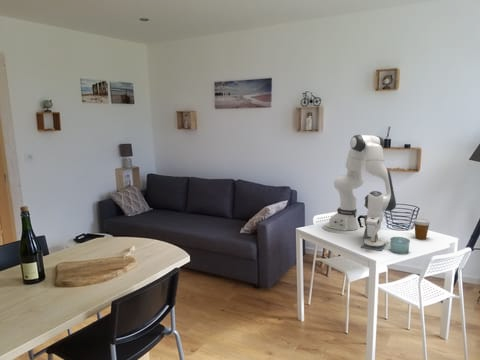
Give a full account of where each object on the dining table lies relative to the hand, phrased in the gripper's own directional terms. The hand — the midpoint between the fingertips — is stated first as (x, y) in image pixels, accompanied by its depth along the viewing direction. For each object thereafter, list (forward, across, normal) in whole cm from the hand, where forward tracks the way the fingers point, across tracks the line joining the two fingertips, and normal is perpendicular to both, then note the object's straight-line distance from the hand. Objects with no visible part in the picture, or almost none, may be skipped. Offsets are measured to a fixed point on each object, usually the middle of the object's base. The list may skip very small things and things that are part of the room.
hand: (373, 239), depth 219 cm
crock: (+4, 0, +15) cm, 15 cm away
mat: (+4, 0, 0) cm, 4 cm away
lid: (+2, 0, 0) cm, 2 cm away
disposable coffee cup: (+5, -31, +23) cm, 39 cm away
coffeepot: (+5, -14, -6) cm, 16 cm away
